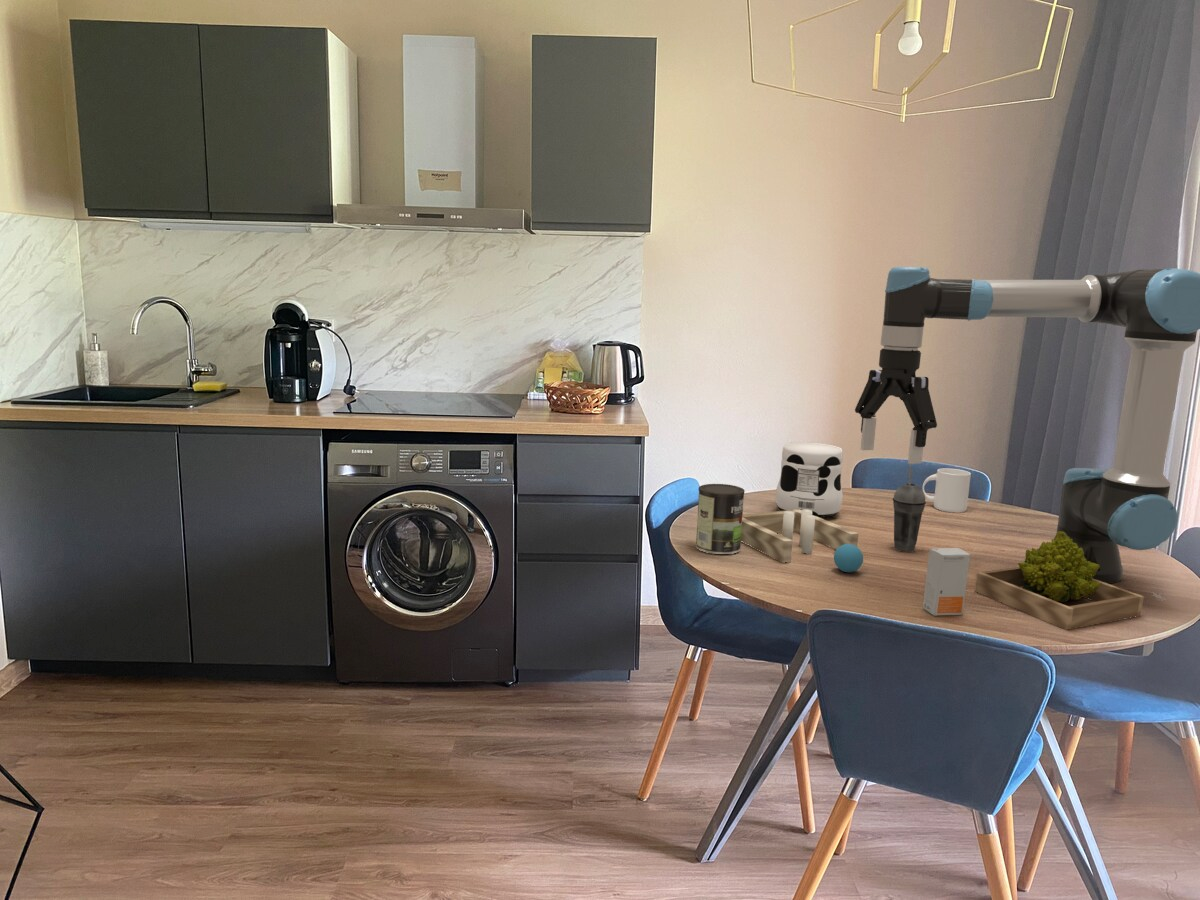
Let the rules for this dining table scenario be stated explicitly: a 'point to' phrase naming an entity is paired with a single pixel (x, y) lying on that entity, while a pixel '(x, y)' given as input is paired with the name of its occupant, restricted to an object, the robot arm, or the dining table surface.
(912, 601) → the dining table surface
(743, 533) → the bumper
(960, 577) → the skincare box
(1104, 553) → the robot arm
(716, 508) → the coffee can
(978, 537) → the dining table surface
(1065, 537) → the vegetable
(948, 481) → the mug
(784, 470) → the milk container
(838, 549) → the ball
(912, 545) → the beverage cup
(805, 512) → the pin back right
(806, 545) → the pin front
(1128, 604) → the crate
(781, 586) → the dining table surface
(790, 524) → the pin back left
